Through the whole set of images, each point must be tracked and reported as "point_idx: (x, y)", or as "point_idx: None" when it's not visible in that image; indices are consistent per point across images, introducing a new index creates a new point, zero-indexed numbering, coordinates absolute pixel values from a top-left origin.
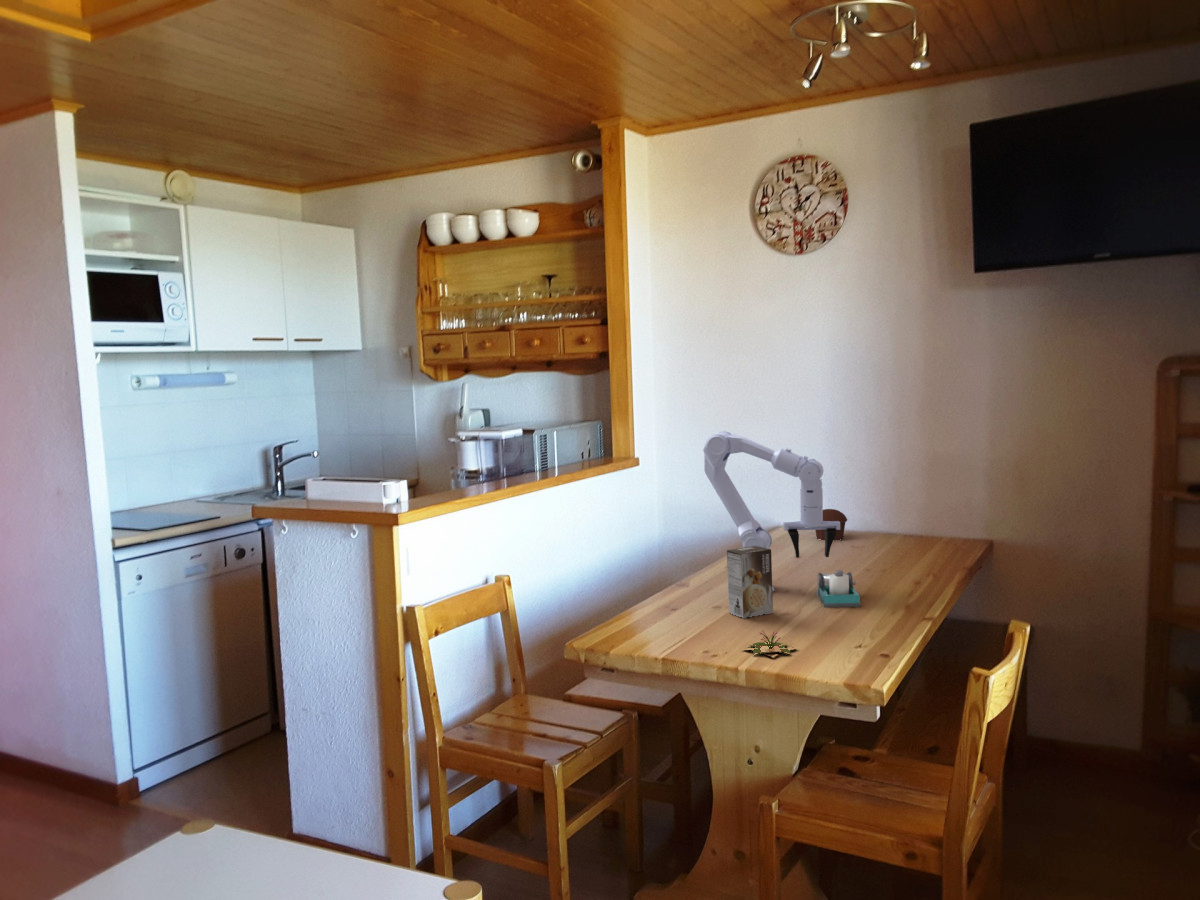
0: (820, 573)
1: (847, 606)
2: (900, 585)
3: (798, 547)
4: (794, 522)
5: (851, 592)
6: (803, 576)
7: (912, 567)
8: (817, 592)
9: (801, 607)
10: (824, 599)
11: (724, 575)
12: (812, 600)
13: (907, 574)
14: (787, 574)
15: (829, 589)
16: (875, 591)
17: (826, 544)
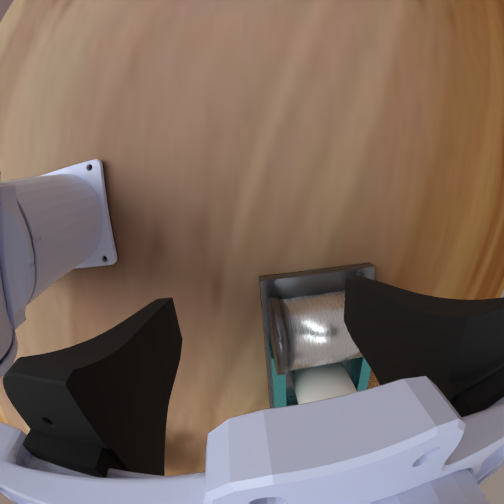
0: (285, 364)
1: None
2: (484, 171)
3: (168, 395)
4: (41, 498)
5: (358, 366)
6: (227, 20)
7: (487, 19)
8: (263, 315)
9: (214, 405)
10: None
11: (4, 74)
12: (244, 352)
13: (492, 68)
14: (171, 3)
15: (297, 396)
16: (432, 236)
17: (381, 355)
